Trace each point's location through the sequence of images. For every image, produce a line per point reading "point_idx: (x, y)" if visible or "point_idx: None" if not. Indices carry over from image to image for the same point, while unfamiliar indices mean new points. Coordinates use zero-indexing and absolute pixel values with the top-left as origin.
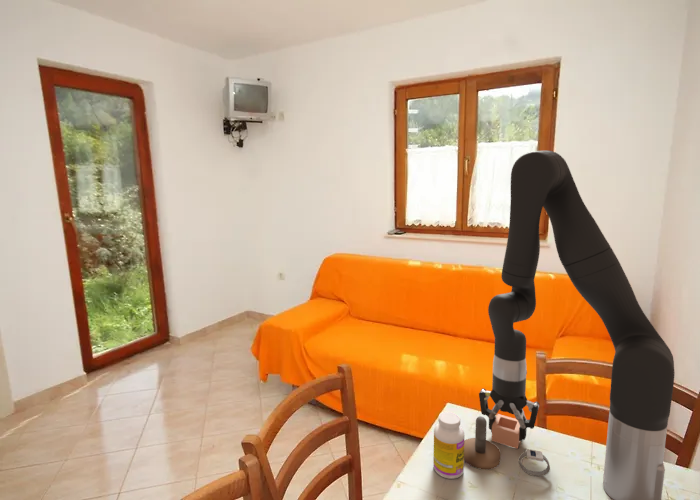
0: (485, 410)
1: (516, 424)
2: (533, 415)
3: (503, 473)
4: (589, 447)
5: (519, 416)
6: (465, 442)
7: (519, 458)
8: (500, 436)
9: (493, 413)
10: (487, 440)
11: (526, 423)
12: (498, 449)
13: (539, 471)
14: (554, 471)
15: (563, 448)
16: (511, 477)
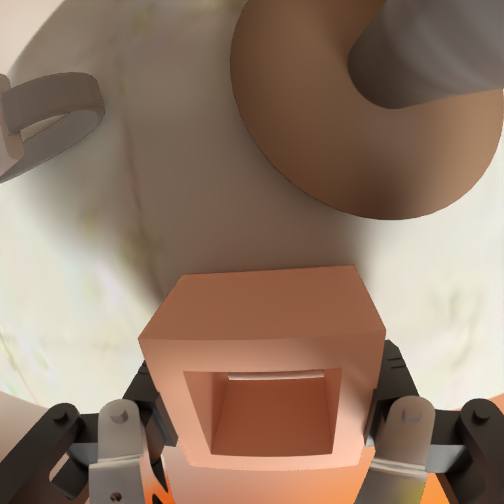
0: (479, 441)
1: (202, 431)
2: (2, 482)
3: (191, 17)
4: (39, 401)
5: (97, 487)
6: (491, 113)
7: (76, 90)
8: (296, 294)
9: (401, 455)
10: (379, 219)
11: (95, 437)
12: (272, 156)
13: (44, 157)
14: (23, 218)
15: (68, 376)
16: (145, 21)
